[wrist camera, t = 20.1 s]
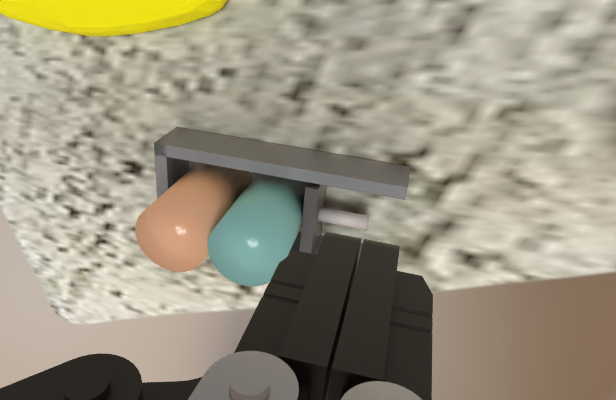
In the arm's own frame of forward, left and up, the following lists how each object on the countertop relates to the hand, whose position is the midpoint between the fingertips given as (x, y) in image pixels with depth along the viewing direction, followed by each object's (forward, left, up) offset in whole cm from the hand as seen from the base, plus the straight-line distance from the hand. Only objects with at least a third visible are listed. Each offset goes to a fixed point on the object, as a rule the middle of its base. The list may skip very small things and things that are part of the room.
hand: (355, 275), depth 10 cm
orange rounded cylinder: (-14, -14, -29) cm, 35 cm away
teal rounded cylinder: (-9, -14, -29) cm, 33 cm away
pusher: (-4, -14, -29) cm, 32 cm away
